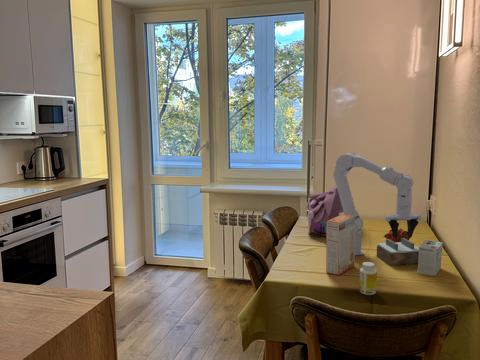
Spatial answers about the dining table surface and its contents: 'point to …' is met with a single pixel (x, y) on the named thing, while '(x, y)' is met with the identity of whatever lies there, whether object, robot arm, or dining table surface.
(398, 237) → the dragon fruit
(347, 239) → the cracker box
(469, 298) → the dining table surface
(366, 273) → the supplement bottle
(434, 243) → the light bulb box
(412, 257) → the walnut box
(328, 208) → the purple cloth
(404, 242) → the lid right
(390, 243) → the lid left
